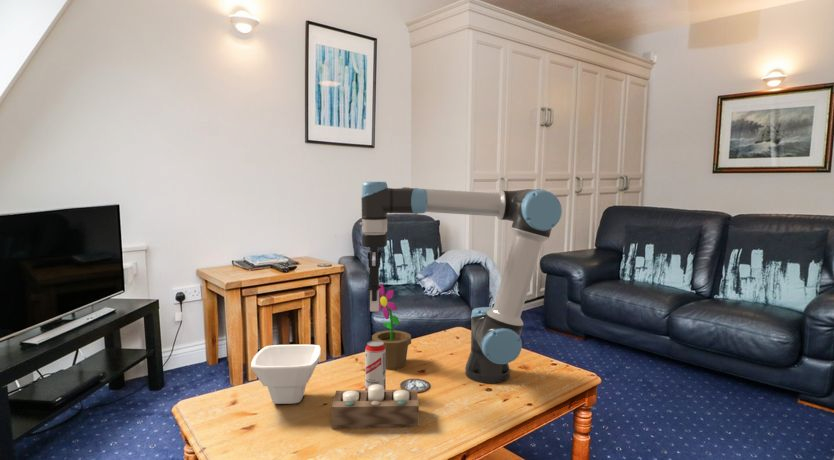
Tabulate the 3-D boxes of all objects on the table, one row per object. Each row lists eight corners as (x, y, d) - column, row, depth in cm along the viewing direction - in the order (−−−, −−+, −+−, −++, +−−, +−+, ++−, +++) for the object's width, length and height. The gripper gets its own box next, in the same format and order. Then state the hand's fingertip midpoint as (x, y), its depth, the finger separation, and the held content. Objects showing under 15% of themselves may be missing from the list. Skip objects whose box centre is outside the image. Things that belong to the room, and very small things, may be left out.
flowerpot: (363, 364, 171) (362, 282, 168) (390, 354, 182) (391, 276, 179) (392, 375, 162) (392, 288, 159) (419, 363, 173) (420, 281, 170)
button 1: (359, 407, 135) (359, 390, 135) (358, 414, 131) (358, 397, 130) (343, 407, 135) (343, 390, 134) (342, 415, 130) (342, 397, 130)
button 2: (408, 406, 136) (409, 389, 135) (409, 414, 131) (409, 396, 131) (393, 406, 136) (393, 389, 135) (393, 414, 131) (393, 396, 131)
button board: (416, 409, 138) (416, 388, 137) (418, 427, 128) (418, 404, 127) (336, 410, 137) (336, 389, 136) (331, 428, 127) (331, 406, 126)
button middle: (384, 401, 135) (384, 384, 135) (383, 408, 131) (384, 390, 130) (368, 401, 135) (368, 384, 135) (367, 408, 131) (367, 391, 130)
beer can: (382, 398, 145) (382, 347, 143) (362, 396, 146) (362, 345, 144) (387, 389, 151) (387, 340, 149) (368, 388, 152) (368, 339, 150)
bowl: (316, 414, 135) (316, 366, 133) (246, 416, 133) (245, 367, 132) (325, 386, 153) (324, 343, 152) (263, 387, 152) (262, 344, 150)
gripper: (363, 231, 149) (363, 305, 151) (360, 235, 136) (360, 316, 138) (387, 231, 149) (387, 305, 152) (386, 235, 136) (386, 316, 139)
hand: (374, 310), depth 145 cm, fingers closed
